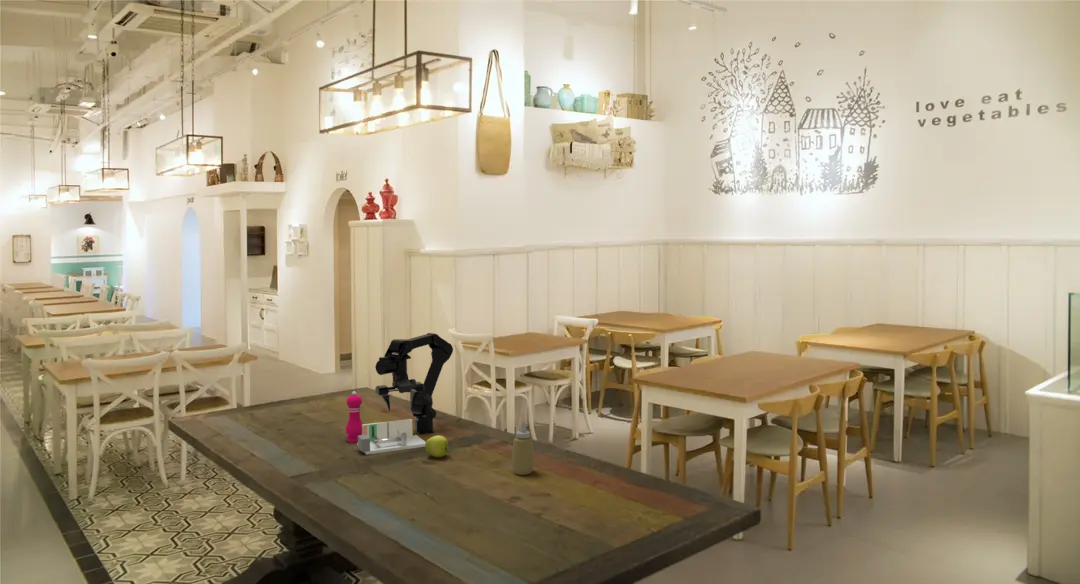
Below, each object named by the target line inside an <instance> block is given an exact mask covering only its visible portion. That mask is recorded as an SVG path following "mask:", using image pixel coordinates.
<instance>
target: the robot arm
mask: <svg viewBox="0 0 1080 584" xmlns="http://www.w3.org/2000/svg"><path fill="white" fill-rule="evenodd" d="M425 346H428V347H429V348H430V350H431V352H430V353H431V354H430V355H431V362H430V365H429V368H428V371H427V373H426V377H425V378H424V381H423V382H420V381H417V380H416V379H415V378H411V379H409V374H408V360H410V359H411V358H412V356H411V355H409V354H410V353H411V352H412V351H413V350H415V349H417V348H421V347H425ZM453 352H454V348H453V345H452V344H451V343H449V342H448V341H447V340H445V339H443V338H442V337H441V336H439V335H438V334H437V333H432V332H427V333H426V334H423V335H418V336H415V337H412V338H409V339H408V338H407V339H404V338H403V339H402V338H397V339H395V338H394V339H392V340H391V341H390V343H389V346H388V347H387V350H386V352H385V353H384V356H381V357H378V361H377V362H376V363H375V364H376V365H375V366H374V368H375V371H376V373H377V375H380V376H383V375H388V374H391V376H392V383H391V386H388V385H386V384H385V385H384V384H382V385H381V384H380V385H376V386H375V389H374V390H375V394H377V395H378V396H380V397H382V399H383V400H384V403H385V406H386V408H387V410H388V411H389V412H391V404H390V394H389V393H391V392H399V394H404V393H410V395H409V397H410V398H409V404H410V407H409V408H410V409H411V410H410V411H411V413H412V415H413V417H415V421H414V431H415V432H416V433H418V434H419V435H422V434H423V435H425V434H430V433H435V430H434V418H436V417H437V411H436V410H435V409H434V408H433V404H434V403H433V397H432V396H433V393H434V391H435V388H436V385H437V382H438V380H439V377H440V375H441V371H442V369H443V366H444V364H445V363H447V361H449V360H450V358H451V356H452V355H453Z"/></svg>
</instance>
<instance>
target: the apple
mask: <svg viewBox="0 0 1080 584" xmlns="http://www.w3.org/2000/svg"><path fill="white" fill-rule="evenodd" d="M425 442H426V444H425V447H424V448H425V452H426V453H428V455H430V456H431V457H435V458H443V457H444V456H445V455H446V454H447V452H448V450H449V448H450V447H449V442H448V439H447V438H446V437H445V436H443V435H434V436H431V437H430V438H428V439H427V440H426V441H425Z"/></svg>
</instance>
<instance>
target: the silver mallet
mask: <svg viewBox="0 0 1080 584" xmlns="http://www.w3.org/2000/svg"><path fill="white" fill-rule="evenodd" d="M372 438H373V439H374V441H373V443H374V444H381V443H389V442H396V441H398V443H399V444H400V445H401V446H403V445H407V436H406V432H405V431H404V430H398V437H394V438H387V439H379V438H378V437H376V436H375V435H374V426H372Z"/></svg>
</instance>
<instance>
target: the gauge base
mask: <svg viewBox="0 0 1080 584" xmlns="http://www.w3.org/2000/svg"><path fill="white" fill-rule="evenodd" d="M372 426H374V435H375V436H376V437H378V438H379V439H387V438H394V437H398V430H404V431H405V432H406V436H407V445H403V446H401V445H400V444H399V443H398V441H396V442H389V443H381V444H374V443H373V441H374V439H373V438H372ZM425 444H426V441H425V440H424V439H423V438H421V437H420V436H418V435H417V434H415V435H414V434H413V419H412V418H408V419H407V418H406V419H398V420H389V421H382V422H381V421H380V422H373V423H363V425H362V435H359V436H358V442H356V445H357V447H358V450H359V451H361V452H362V453H363V454H365V455H366V456H367V455H373V454H380V453H381V454H382V453H389V452H396V451H397V452H398V451H404V450H411V449H417V448H426V447H425Z"/></svg>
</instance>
